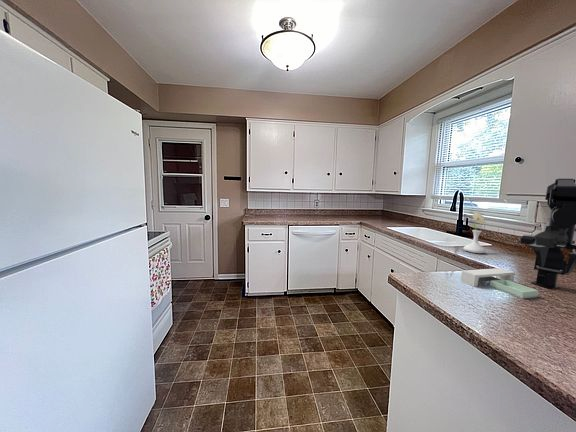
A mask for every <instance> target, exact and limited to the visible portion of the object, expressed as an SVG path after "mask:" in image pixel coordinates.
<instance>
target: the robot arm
mask: <svg viewBox="0 0 576 432" xmlns="http://www.w3.org/2000/svg"><path fill="white" fill-rule="evenodd" d="M544 199H545V201H546V205H547V207H548V208H549V210H550V215H549V221H548V225H546V227H545V230H544V231H541V232H539V233H537V234H535V235H527V234H526V235H522V236H521V237H520V239H519V243H520V244H524V245H525V244H526V245H527V247H528V248H531V249H532V250H533V251H534V253H535V259H534V263H533V270H534V271H535V270H536V271H537V273H536V280H535V281H530V283H531V284H533V285H537V286H540V287H543V288H546V289H550V290H553V289H554V290H555V289H561V286H560V285H557V281H558V276H559V275H561V276H564V275H566V274H567V275H569V274H571V273H572V272H573V271H574V270H575V268H576V244H575V242H576V240H574V235H575V232H576V178H555V180H554V182H553V183H552V184H550V185H548V186H547V187H546V192H545V197H544ZM561 249H565V250H568V251H572V252H569V253H568V252H567V255H568V260H566V259H565V254H564V253H563V251H562V250H561Z"/></svg>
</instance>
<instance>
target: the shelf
mask: <svg viewBox="0 0 576 432" xmlns="http://www.w3.org/2000/svg"><path fill="white" fill-rule="evenodd" d="M515 276H516V272H514V271H512V270H508V269H505V268H502V267H498V268H495V267H494V268H483V269H482V268H480V269H469V270H468V269H467V270H461V275H460V282H461V281H462V282H461V283H463V282H464V284H466V285H468V284H469V286H472V287H478V284H479V285H481V286H487V281H492V280H504V279H505V280H508V281H511V282H514V283H515V281H514V280H515Z"/></svg>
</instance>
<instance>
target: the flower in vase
mask: <svg viewBox="0 0 576 432" xmlns="http://www.w3.org/2000/svg"><path fill="white" fill-rule="evenodd" d="M484 216H485V215H484ZM484 216H483V215H482V214H481V213H480V212H475V213H473V214H472V218H473V219H474V221H475V222H474V223H473V224H472V223H471V225H470V227H471V228H473V229H472V230H471V231H472V233H473V240H472V242H470V243H469V244H466V245H465V246H464V247H463V250H464V251H466V252H469V253H473V254H483V253H484V254H485V253H486V251H487V250H486V249H485V248H484V247H483V246H482V245H481V244H480V243H479V236H480V234H481V233H482V232H483V231H482V230H477V229H478V228H481V227H482V225H483V224H485V221H486V220H485V217H484ZM476 223H479V224H481V225H480V226H477V227H476Z"/></svg>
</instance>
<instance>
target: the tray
mask: <svg viewBox="0 0 576 432" xmlns="http://www.w3.org/2000/svg"><path fill="white" fill-rule="evenodd" d="M489 281H490V282H489V287H490V288H493V289H494V290H495V289H496V290H498V291H501V292H503V293H506V294H508V295H510V296H514V297H517V298H519V299H521V300H523V299H532V298H533V299H534V298H538V296H539V289H535V288H532V287H530V286H529V287H528V286H525V285H523V284H520V283H517V282H515V281H514V282H511V281H508V280H505V279H504V280H489Z"/></svg>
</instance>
